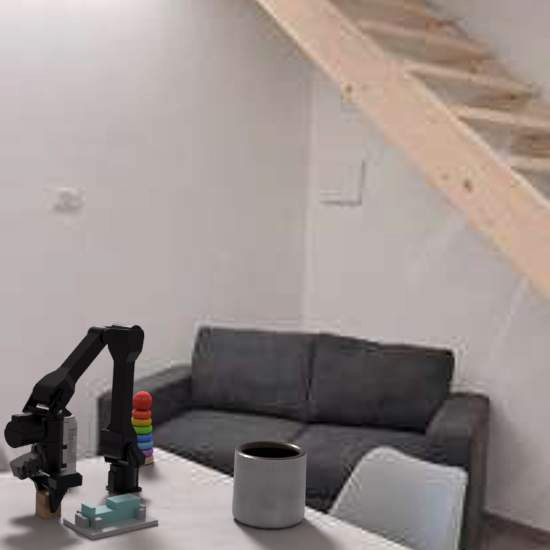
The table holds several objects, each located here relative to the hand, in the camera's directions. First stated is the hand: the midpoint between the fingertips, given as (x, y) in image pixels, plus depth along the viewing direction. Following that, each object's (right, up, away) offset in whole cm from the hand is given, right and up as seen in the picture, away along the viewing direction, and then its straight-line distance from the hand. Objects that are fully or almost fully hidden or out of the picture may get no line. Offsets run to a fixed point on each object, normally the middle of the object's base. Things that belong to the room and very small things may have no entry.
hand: (48, 509), depth 207 cm
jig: (+14, -2, -4) cm, 15 cm away
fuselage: (+14, -1, -4) cm, 15 cm away
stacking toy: (+13, +2, +44) cm, 46 cm away
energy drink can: (-3, +1, +29) cm, 29 cm away
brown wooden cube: (0, -1, 0) cm, 1 cm away
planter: (+48, -3, +4) cm, 48 cm away
